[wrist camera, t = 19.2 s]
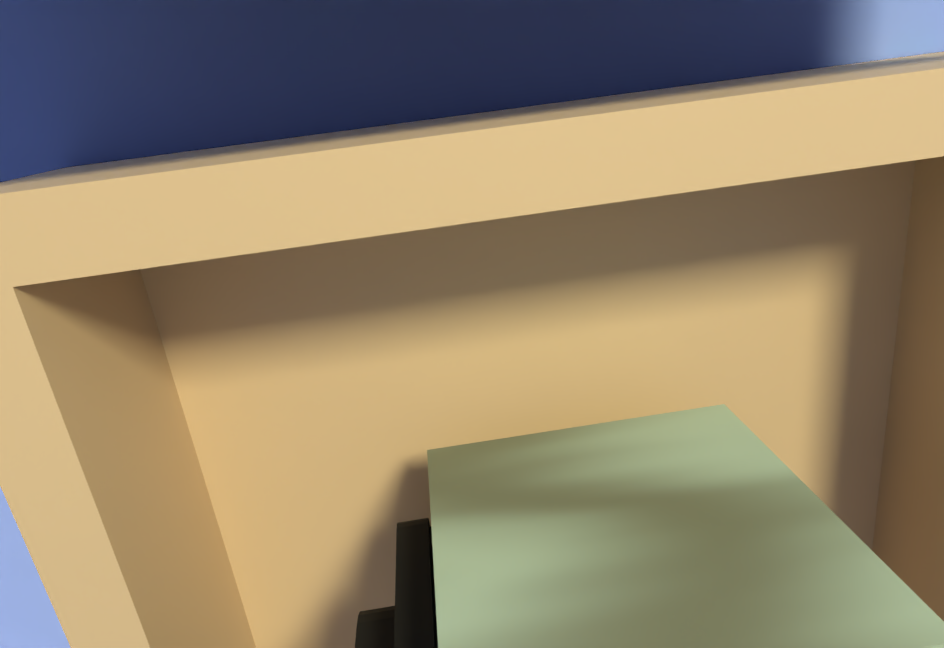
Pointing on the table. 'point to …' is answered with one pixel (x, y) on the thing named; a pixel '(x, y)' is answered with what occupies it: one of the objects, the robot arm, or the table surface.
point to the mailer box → (460, 333)
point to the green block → (652, 545)
